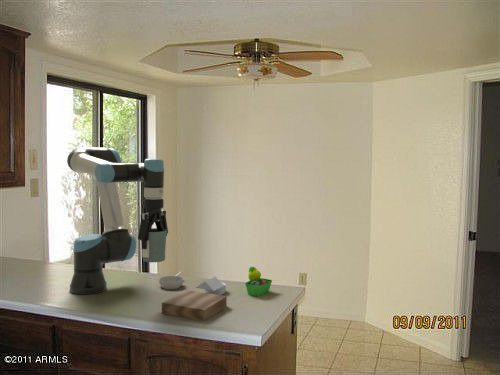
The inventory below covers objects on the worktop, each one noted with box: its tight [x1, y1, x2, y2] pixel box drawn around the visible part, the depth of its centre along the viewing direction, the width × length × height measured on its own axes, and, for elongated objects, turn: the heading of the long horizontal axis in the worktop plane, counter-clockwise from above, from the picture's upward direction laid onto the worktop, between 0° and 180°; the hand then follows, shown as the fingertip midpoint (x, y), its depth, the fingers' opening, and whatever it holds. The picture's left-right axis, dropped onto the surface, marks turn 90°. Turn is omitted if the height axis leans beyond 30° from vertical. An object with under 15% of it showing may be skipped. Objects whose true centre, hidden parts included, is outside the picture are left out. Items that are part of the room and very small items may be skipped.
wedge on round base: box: [195, 276, 227, 295], centre depth 201 cm, size 9×7×13 cm
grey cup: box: [142, 227, 167, 263], centre depth 186 cm, size 10×10×12 cm
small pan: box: [158, 271, 184, 290], centre depth 214 cm, size 11×18×4 cm, turn 169°
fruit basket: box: [244, 266, 273, 297], centre depth 203 cm, size 11×9×11 cm
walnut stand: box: [161, 289, 228, 322], centre depth 180 cm, size 18×18×4 cm
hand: (153, 254), depth 186 cm, fingers closed on grey cup, 9 cm apart
